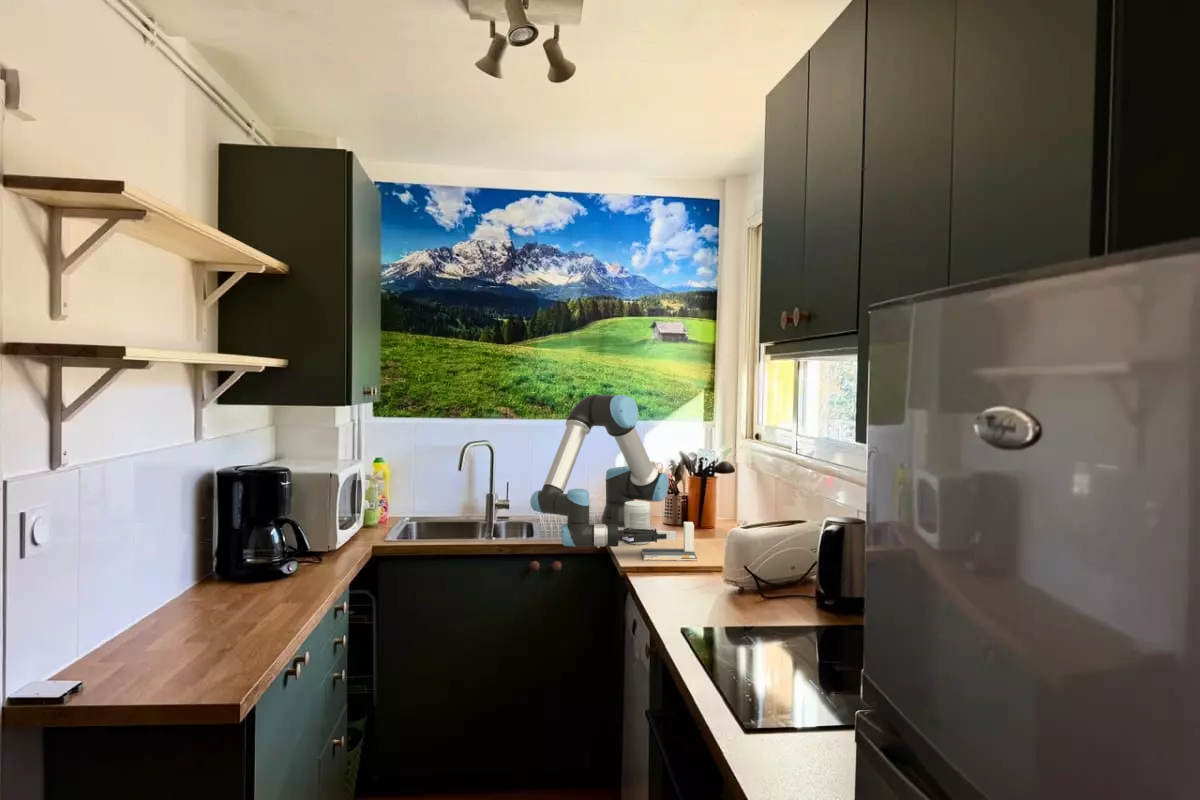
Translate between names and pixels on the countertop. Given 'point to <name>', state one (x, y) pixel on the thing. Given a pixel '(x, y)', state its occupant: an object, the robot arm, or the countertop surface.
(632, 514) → the supplement tub
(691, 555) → the switch housing
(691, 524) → the switch tab
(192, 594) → the countertop surface
